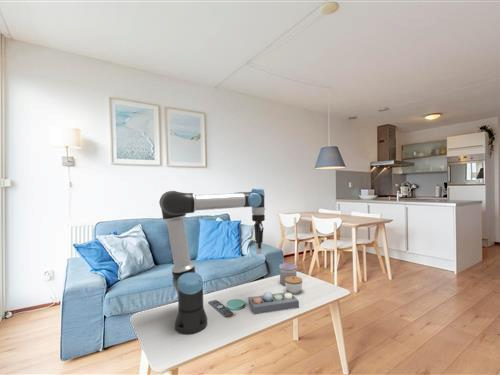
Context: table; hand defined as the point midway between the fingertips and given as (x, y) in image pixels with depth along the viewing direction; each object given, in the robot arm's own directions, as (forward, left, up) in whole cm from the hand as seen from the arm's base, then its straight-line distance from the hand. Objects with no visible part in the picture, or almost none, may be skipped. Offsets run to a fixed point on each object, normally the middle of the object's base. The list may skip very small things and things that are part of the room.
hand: (259, 253), depth 151 cm
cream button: (+13, -14, -24) cm, 30 cm away
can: (+24, +12, -26) cm, 37 cm away
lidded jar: (+22, -1, -26) cm, 33 cm away
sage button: (+7, -14, -24) cm, 28 cm away
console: (+4, -14, -25) cm, 29 cm away
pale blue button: (+1, -14, -22) cm, 26 cm away
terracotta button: (-5, -14, -24) cm, 28 cm away
